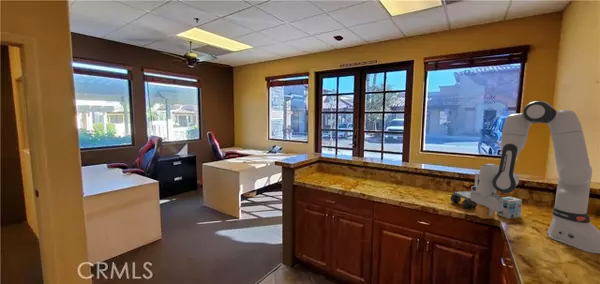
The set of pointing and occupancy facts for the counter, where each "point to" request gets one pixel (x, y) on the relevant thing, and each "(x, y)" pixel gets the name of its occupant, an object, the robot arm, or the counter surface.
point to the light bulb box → (511, 207)
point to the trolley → (465, 196)
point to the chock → (483, 212)
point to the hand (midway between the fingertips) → (484, 213)
